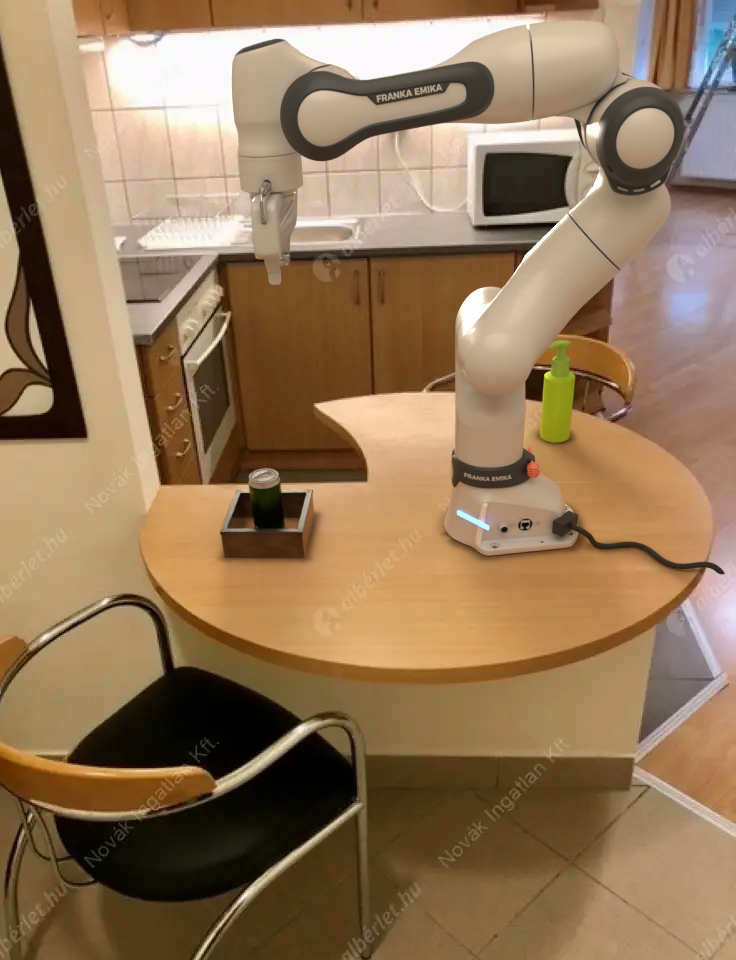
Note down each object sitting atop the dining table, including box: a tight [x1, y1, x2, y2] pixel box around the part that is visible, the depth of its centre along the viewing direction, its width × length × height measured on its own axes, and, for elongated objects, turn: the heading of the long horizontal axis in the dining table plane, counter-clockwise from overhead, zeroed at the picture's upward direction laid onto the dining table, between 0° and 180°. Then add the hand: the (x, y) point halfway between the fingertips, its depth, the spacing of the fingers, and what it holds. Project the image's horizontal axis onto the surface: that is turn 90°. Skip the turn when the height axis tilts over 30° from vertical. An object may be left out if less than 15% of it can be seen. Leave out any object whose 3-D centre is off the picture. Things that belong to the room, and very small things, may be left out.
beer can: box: [247, 468, 287, 529], centre depth 145 cm, size 5×5×12 cm
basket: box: [219, 489, 315, 559], centre depth 147 cm, size 14×14×5 cm
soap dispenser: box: [539, 339, 576, 443], centre depth 169 cm, size 6×7×20 cm
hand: (280, 273), depth 127 cm, fingers open, 8 cm apart
